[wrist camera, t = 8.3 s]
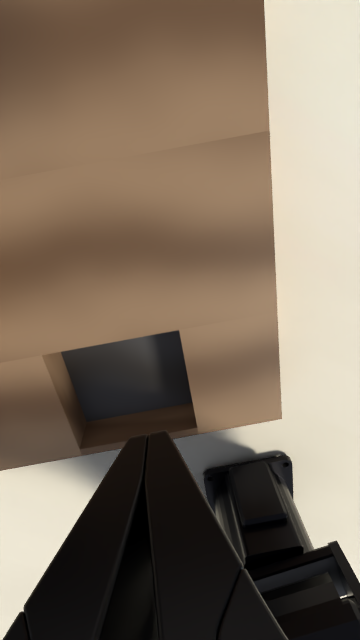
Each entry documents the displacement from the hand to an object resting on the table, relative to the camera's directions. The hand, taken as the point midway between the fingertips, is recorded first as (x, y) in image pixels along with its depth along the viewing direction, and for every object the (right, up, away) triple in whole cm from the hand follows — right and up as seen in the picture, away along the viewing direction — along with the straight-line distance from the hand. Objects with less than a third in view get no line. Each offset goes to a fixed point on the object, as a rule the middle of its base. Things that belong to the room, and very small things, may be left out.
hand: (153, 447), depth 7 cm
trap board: (-6, +6, +10) cm, 13 cm away
